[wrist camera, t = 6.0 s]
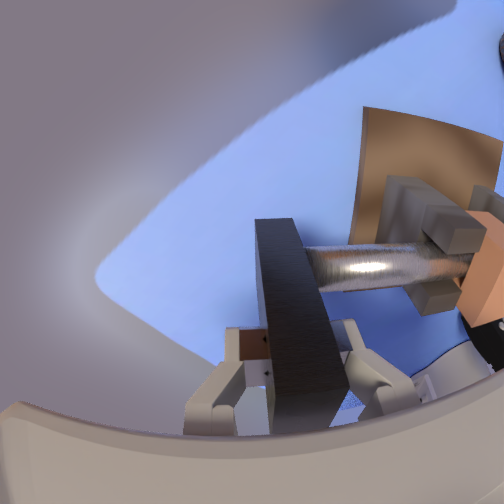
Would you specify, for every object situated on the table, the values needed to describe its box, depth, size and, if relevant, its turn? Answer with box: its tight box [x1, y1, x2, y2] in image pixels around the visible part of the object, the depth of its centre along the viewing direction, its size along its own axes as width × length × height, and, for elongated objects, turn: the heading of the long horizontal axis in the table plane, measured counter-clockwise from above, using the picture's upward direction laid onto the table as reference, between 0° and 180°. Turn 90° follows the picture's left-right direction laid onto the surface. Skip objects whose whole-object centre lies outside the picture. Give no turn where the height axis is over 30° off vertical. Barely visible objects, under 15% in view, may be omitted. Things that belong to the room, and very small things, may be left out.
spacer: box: [453, 210, 504, 328], centre depth 14 cm, size 5×4×6 cm
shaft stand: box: [343, 106, 504, 316], centre depth 17 cm, size 16×16×10 cm
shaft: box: [255, 218, 475, 434], centre depth 12 cm, size 4×15×10 cm, turn 91°
